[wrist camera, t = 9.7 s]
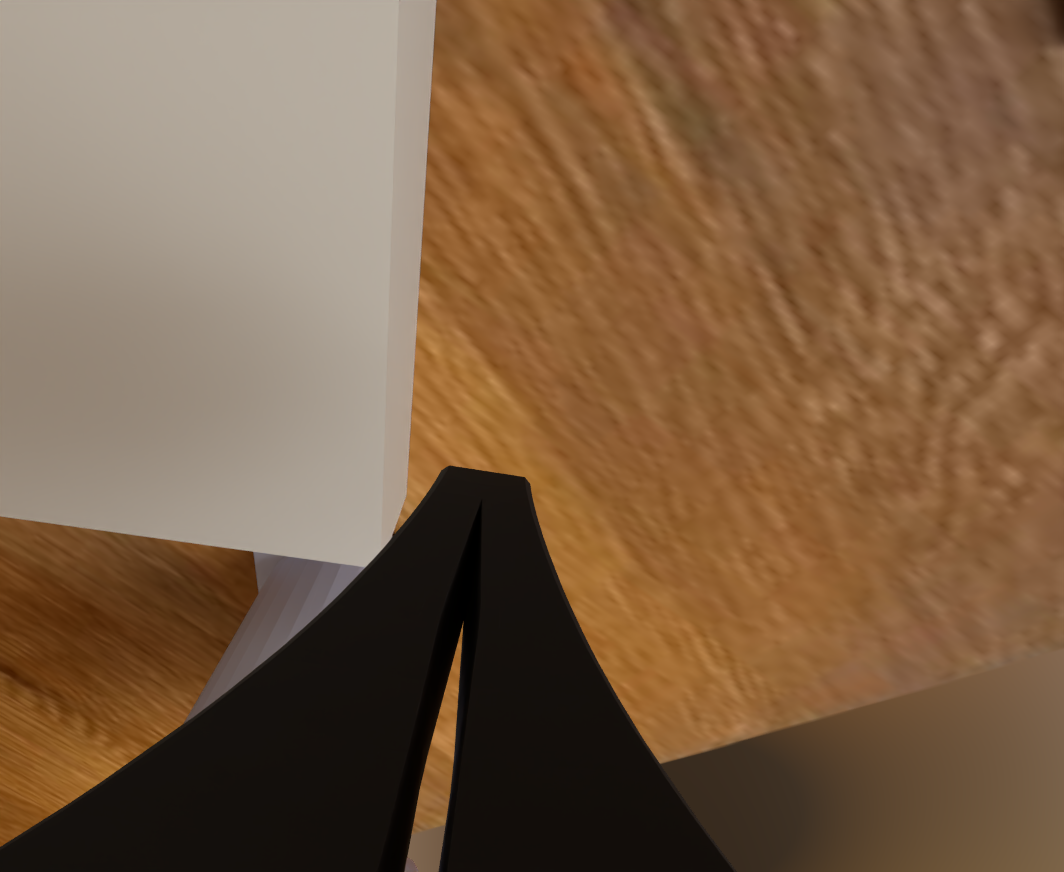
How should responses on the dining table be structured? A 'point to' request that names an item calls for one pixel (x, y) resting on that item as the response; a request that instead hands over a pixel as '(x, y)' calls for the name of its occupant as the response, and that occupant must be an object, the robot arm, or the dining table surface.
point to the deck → (212, 267)
